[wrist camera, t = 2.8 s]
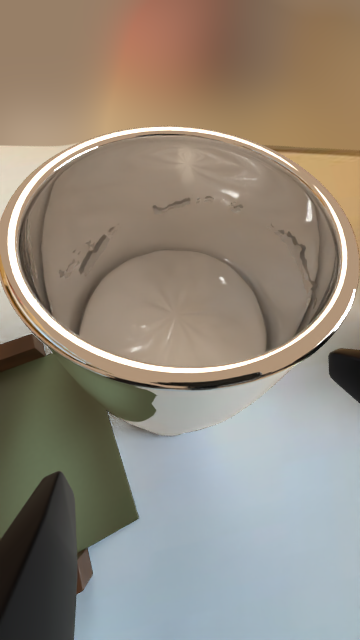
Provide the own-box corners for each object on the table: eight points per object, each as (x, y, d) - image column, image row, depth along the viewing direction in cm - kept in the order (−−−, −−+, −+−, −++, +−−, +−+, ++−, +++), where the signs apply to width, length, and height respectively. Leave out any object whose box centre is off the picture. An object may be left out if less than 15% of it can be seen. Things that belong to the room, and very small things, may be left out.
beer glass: (107, 432, 16) (-137, 351, 3) (134, 338, 20) (73, 102, 6) (211, 453, 16) (432, 460, 3) (221, 354, 19) (343, 144, 6)
